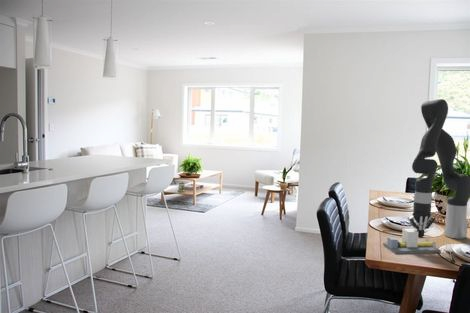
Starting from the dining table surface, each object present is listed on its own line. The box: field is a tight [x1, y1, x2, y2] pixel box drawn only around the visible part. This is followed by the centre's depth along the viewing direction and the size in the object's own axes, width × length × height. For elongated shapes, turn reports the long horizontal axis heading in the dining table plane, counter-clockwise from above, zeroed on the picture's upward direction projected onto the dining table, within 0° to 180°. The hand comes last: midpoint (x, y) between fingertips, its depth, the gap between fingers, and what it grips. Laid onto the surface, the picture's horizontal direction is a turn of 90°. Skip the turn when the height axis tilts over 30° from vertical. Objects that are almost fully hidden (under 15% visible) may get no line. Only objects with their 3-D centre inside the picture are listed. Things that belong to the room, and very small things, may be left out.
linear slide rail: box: [382, 236, 442, 255], centre depth 193 cm, size 22×12×5 cm, turn 96°
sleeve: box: [401, 228, 419, 247], centre depth 193 cm, size 5×5×7 cm
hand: (420, 237), depth 193 cm, fingers closed
